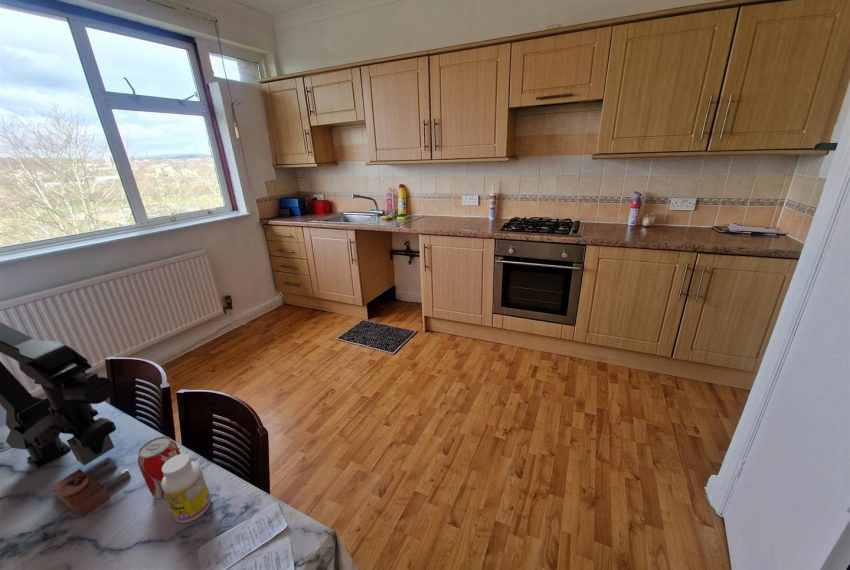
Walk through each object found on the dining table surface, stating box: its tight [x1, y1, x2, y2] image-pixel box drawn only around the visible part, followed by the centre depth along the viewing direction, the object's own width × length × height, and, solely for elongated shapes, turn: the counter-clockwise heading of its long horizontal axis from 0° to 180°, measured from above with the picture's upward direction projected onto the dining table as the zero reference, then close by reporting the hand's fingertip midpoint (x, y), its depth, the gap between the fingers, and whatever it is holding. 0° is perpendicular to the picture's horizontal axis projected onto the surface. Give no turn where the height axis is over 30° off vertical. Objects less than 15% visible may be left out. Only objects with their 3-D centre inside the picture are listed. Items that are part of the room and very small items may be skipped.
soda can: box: [137, 435, 182, 500], centre depth 76 cm, size 7×7×12 cm
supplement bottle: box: [161, 453, 212, 524], centre depth 71 cm, size 7×7×13 cm
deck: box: [50, 459, 131, 519], centre depth 78 cm, size 12×10×4 cm
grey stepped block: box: [66, 434, 115, 466], centre depth 84 cm, size 4×6×7 cm, turn 153°
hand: (94, 450), depth 85 cm, fingers closed on grey stepped block, 4 cm apart
